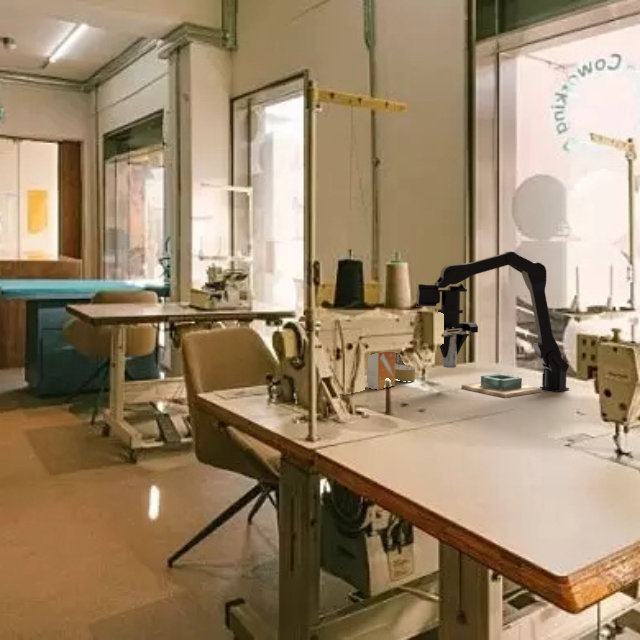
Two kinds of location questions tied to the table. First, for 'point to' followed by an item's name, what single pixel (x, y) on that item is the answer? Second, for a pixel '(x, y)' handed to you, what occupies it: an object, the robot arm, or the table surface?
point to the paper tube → (403, 370)
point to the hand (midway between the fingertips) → (449, 356)
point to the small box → (380, 369)
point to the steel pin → (451, 352)
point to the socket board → (501, 392)
